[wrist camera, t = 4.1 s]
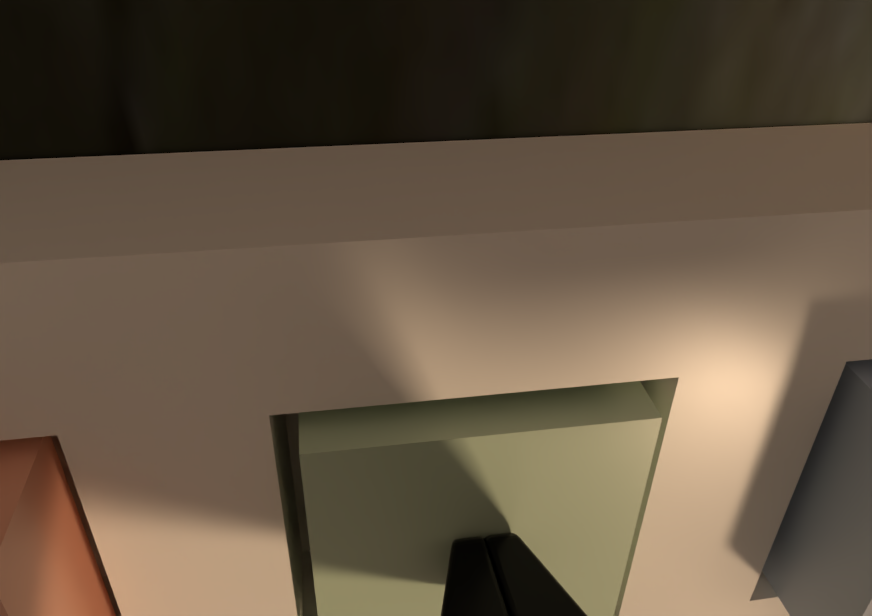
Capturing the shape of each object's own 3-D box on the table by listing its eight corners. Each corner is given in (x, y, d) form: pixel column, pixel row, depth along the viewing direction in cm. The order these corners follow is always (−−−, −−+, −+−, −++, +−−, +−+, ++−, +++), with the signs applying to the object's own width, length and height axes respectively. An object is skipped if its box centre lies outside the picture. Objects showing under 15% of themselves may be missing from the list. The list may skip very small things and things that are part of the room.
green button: (603, 321, 10) (662, 418, 9) (568, 524, 13) (609, 630, 11) (297, 346, 10) (299, 454, 8) (319, 554, 12) (324, 671, 10)
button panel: (1153, 110, 11) (1353, 179, 9) (922, 523, 16) (1016, 629, 14) (-521, 183, 8) (-804, 313, 6) (-162, 663, 13) (-248, 824, 11)
